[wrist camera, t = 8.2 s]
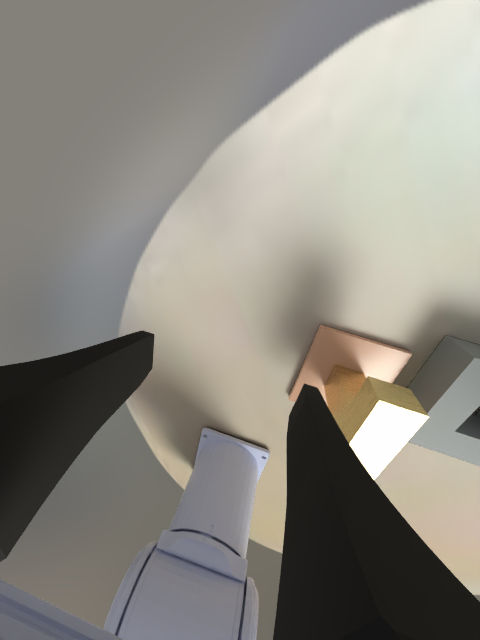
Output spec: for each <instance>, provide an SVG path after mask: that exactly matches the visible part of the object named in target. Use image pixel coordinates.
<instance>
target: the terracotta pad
mask: <svg viewBox="0 0 480 640" xmlns="http://www.w3.org/2000/svg"><path fill="white" fill-rule="evenodd" d="M411 356H412V354H411V352H410V351H407V350H404V349H401V348H397V347H394V346H390V345H387V344H384V343H380V342H377V341H374V340H370V339H367V338H364V337H360V336H357V335H353V334H350V333H347V332H343V331H340V330H337V329H333V328H330V327H327V326H323V325H320V326H319V329H318V331H317V333H316V336H315V338H314V340H313V342H312V345H311V347H310V349H309V352H308V354H307V356H306V358H305V361H304V363H303V365H302V368H301V370H300V372H299V374H298V377H297V379H296V381H295V384H294V386H293V388H292V390H291V393H290V395H289V400H291V401H294V402H296V400H297V398H298V395H299V393H300V391H301V389H302V387H303V385H304V383H305V384H308V385H311V386H314V387H317V388H318V389H319V391H320V393H321V395H322V396H323V398H324V400H325V402H326V404H327V400H326V394H325V388H324V385H325V383H326V381H327V379H328V377H329V375H330V373H331V371H332V369H333V367H334V365H335V364H336V365H339V366H342V367H346V368H349V369H352V370H355V371H358V372H362V373H364V374H365V376H366V378H367V377H368V376H370V377H373V378H376V379H379V380H382V381H386V382H389V383H393V382H394V380H395V379H396V378H397V376H398V375H399V373H400V372H401V370H402V369H403V367H404V366H405V365H406V363H407V362H408V360H409V359H410V357H411Z"/></svg>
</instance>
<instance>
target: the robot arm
mask: <svg viewBox="0 0 480 640" xmlns="http://www.w3.org/2000/svg"><path fill="white" fill-rule="evenodd" d="M153 347H154V334H152V333H148V332H145V331H139V332H135V333H132V334H129V335H126V336H122V337H119V338H117V339H113V340H110V341H107V342H104V343H101V344H97V345H94V346H91V347H87V348H84V349H80V350H77V351H73V352H70V353H66V354H62V355H58V356H53V357H49V358H44V359H40V360H35V361H30V362H25V363H18V364H12V365H6V366H0V562H1V561H2V560H4V559H5V558H7V556H8V555H9V553H10V552H11V550H12V548H13V547H14V545H15V544H16V542H17V541H18V539H19V538H20V536H21V535H22V533H23V532H24V530H25V529H26V527H27V526H28V525H29V523H30V522H31V520H32V518H33V517H34V516H35V514H36V513H37V511H38V510H39V508H40V507H41V505H42V504H43V502H44V501H45V500H46V498H47V497H48V496H49V494H50V493H51V491H52V490H53V489H54V487H55V486H56V484H57V483H58V482H59V480H60V479H61V478H62V476H63V475H64V474H65V472H66V471H67V470H68V468H69V467H70V465H71V464H72V463H73V462H74V460H75V459H76V458H77V456H78V455H79V454H80V452H81V451H82V450H83V448H84V447H85V446H86V445H87V443H88V442H89V441H90V440H91V438H92V437H93V436H94V435H95V433H96V432H97V431H98V430H99V429H100V428H101V426H102V425H103V424H104V423H105V422H106V421H107V420H108V419H109V418H110V417H111V415H113V414H114V413H115V411H116V410H117V409H118V408H119V407H120V406H121V405H122V404H123V403H124V402H125V401H126V400H127V399H128V398H129V397H130V396H131V395H132V393H133V392H134V391H135V390H136V389H137V388H138V387H139V386H140V385H141V383H142V382H143V381H144V379H145V378H146V376H147V375H148V374H149V372H150V371H151V369H152V364H153ZM269 454H270V452H269V451H268V450H267V449H264V448H262V447H259V446H256V445H253V444H251V443H248V442H245V441H242V440H240V439H237V438H234V437H231V436H229V435H226V434H223V433H220V432H218V431H215V430H212V429H209V428H203V430H202V432H201V437H200V442H199V446H198V451H197V455H196V460H195V464H194V469H193V471H192V474H191V476H190V479H189V481H188V484H187V486H186V488H185V491H184V493H183V496H182V499H181V501H180V503H179V506H178V508H177V510H176V513H175V515H174V518H173V520H172V523H171V525H170V528H169V530H163V531H162V534H161V536H160V538H159V541H158V543H157V542H155V541H151V542H150V543H149V544H148V545H147V546H145V547H144V548H143V549H141V550H140V552H139V553H138V554H137V556H136V557H135V558H134V560H133V562H132V563H131V565H130V567H129V569H128V571H127V573H126V575H125V577H124V578H123V581H122V583H121V585H120V587H119V589H118V591H117V594H116V596H115V598H114V601H113V603H112V606H111V608H110V611H109V614H108V617H107V619H106V622H105V625H104V628H103V629H102V628H100V627H98V626H95V625H93V624H91V623H89V622H87V621H85V620H83V619H81V618H79V617H77V616H75V615H73V614H71V613H69V612H66V611H65V610H63V609H60V608H58V607H56V606H54V605H52V604H50V603H48V602H46V601H44V600H42V599H39V598H38V597H36V596H34V595H32V594H30V593H27V592H26V591H23V590H21V589H19V588H17V587H15V586H13V585H11V584H9V583H7V582H5V581H3V580H1V579H0V640H256V635H257V623H258V602H259V600H258V592H257V589H256V587H255V585H254V580H253V579H252V578H250V577H246V570H247V563H248V561H247V560H246V559H245V558H246V551H247V545H248V538H249V531H250V524H251V518H252V511H253V504H254V497H255V491H256V484H257V482H258V480H259V477H260V475H261V473H262V471H263V469H264V466H265V464H266V462H267V460H268V458H269ZM245 577H246V579H245ZM273 640H480V602H479V601H478V600H477V599H476V598H475V597H474V596H473V595H472V593H471V592H470V591H469V590H468V589H467V588H466V587H465V586H464V585H463V584H462V583H461V582H460V581H459V580H458V579H457V578H456V577H455V576H454V575H453V574H452V572H451V571H450V570H449V569H448V568H447V567H446V566H445V565H444V564H443V563H442V561H441V560H440V559H439V558H438V557H437V556H436V555H435V554H434V553H433V551H432V550H431V549H430V548H429V547H428V546H427V545H426V544H425V543H424V541H423V540H422V539H421V538H420V537H419V536H418V534H417V533H416V532H415V531H414V530H413V529H412V527H411V526H410V525H409V524H408V523H407V521H406V520H405V519H404V518H403V517H402V515H401V514H400V513H399V512H398V510H397V509H396V508H395V507H394V506H393V504H392V503H391V502H390V501H389V499H388V498H387V497H386V495H385V494H384V493H383V492H382V490H381V489H380V488H379V486H378V485H377V484H376V482H375V481H374V479H373V478H372V477H371V475H370V474H369V473H368V471H367V470H366V468H365V467H364V466H363V464H362V463H361V461H360V460H359V458H358V457H357V455H356V454H355V452H354V450H353V449H352V447H351V446H350V444H349V443H348V441H347V439H346V438H345V436H344V434H343V433H342V431H341V429H340V428H339V426H338V424H337V422H336V421H335V419H334V417H333V415H332V413H331V412H330V410H329V408H328V406H327V404H326V402H325V400H324V398H323V396H322V395H321V393H320V391H319V389H318V388H317V387H314V386H311V385H308V384H305V383H304V385H303V387H302V389H301V391H300V393H299V395H298V398H297V400H296V402H295V404H294V406H293V408H292V411H291V413H290V415H289V422H288V430H287V508H286V520H285V532H284V544H283V555H282V565H281V575H280V584H279V593H278V602H277V611H276V620H275V628H274V636H273Z"/></svg>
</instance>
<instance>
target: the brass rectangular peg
mask: <svg viewBox="0 0 480 640" xmlns="http://www.w3.org/2000/svg"><path fill="white" fill-rule="evenodd" d="M324 388H325V394H326V400H327V406H328V408H329V410H330V412H331V413H332V415H333V417H334V419H335V421H336V422H337V424H338V426H339V428H340V429H341V431H342V433H343V434H344V436H345V438H346V439H347V441H348V443H349V444H350V446H351V447H352V449H353V450H354V452H355V454H356V455H357V457H358V458H359V460H360V461H361V463H362V464H363V466H364V467H365V468H366V470H367V471H368V473H369V474H370V475H371V477H372V478H373V479H375V478H376V477H377V476H378V475H379V474H380V472H381V471H382V470H383V469H384V468H385V467H386V466H387V464H388V463H389V462H390V461H391V460H392V459H393V457H394V456H395V455H396V454H397V453H398V452H399V451H400V449H401V448H402V447H403V446H404V445H405V444H406V443H407V441H408V440H409V439H410V438H411V437H412V436H413V434H414V433H415V432H416V431H417V430H418V429H419V428H420V426H421V425H422V424H423V423H424V422H425V421H426V420H427V418H428V417H429V416H428V415H427V413H426V412H425V410H424V409H423V407H422V406H421V404H420V403H419V401H418V400H417V398H416V397H415V395H414V394H413V392H412V391H411V389H408V388H405V387H402V386H398V385H395V384H392V383H389V382H386V381H382V380H379V379H376V378H373V377H370V376H368V377H367V378H366V376H365V374H364V373H362V372H358V371H355V370H352V369H349V368H346V367H342V366H339V365H336V364H335V365H334V367H333V369H332V371H331V373H330V375H329V377H328V379H327V381H326V383H325V385H324Z"/></svg>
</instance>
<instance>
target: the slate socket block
mask: <svg viewBox="0 0 480 640" xmlns="http://www.w3.org/2000/svg"><path fill="white" fill-rule="evenodd" d="M407 388H408V389H411V391H412V392H413V394H414V395H415V397H416V398H417V400H418V401H419V403H420V404H421V406H422V407H423V409H424V410H425V412H426V413H427V415H428V416H429V417H428V418H427V420H426V421H425V422H424V423H423V424H422V425H421V426H420V428H419V429H418V430H417V431H416V432H415V433H414V434H413V436H412V437H411V438H410V439H409V440H408V441H407V442H409V443H412V444H415V445H418V446H421V447H424V448H427V449H430V450H433V451H436V452H439V453H442V454H445V455H448V456H451V457H454V458H457V459H460V460H463V461H466V462H469V463H472V464H475V465H478V466H480V411H479V412H478V413H477V414H476V415H474V414H472V413H473V412H474V411H475V410H476V409H477V408H478V407H479V406H480V345H478V344H474V343H471V342H467V341H464V340H460V339H457V338H453V337H450V336H445V337H444V338H443V340H442V341H441V342H440V344H439V345H438V346H437V348H436V349H435V350H434V352H433V353H432V355H431V356H430V357H429V359H428V360H427V361H426V363H425V364H424V365H423V367H422V368H421V369H420V371H419V372H418V373H417V375H416V376H415V377H414V379H413V380H412V381H411V383H410V384H409V386H408V387H407Z"/></svg>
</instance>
